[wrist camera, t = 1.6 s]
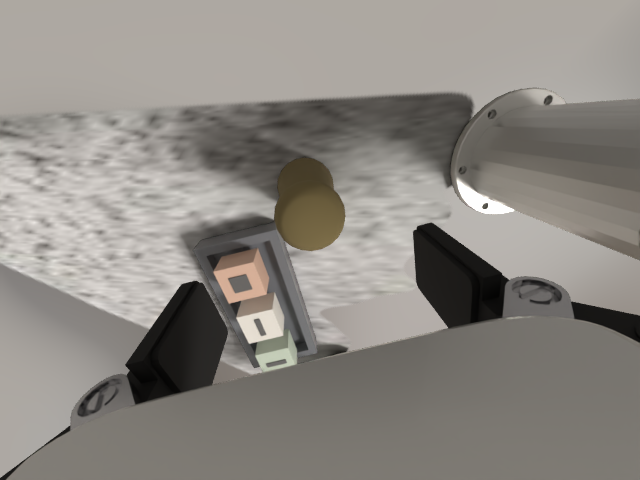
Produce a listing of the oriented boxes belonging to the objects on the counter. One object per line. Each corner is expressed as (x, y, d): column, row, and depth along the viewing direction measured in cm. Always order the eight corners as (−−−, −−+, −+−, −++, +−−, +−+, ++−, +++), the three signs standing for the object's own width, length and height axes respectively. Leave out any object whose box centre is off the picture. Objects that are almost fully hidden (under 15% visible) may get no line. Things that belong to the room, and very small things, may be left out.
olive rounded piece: (265, 181, 26) (246, 218, 16) (310, 144, 25) (320, 159, 15) (301, 223, 28) (303, 278, 18) (344, 191, 27) (371, 231, 17)
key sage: (288, 328, 32) (288, 348, 29) (296, 349, 33) (297, 370, 31) (258, 335, 32) (254, 356, 29) (268, 356, 33) (265, 378, 31)
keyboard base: (277, 221, 28) (276, 229, 26) (316, 338, 36) (317, 353, 34) (201, 240, 28) (192, 250, 26) (256, 352, 36) (254, 368, 34)
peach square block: (257, 247, 26) (253, 262, 24) (269, 278, 28) (266, 295, 25) (221, 256, 27) (212, 272, 24) (235, 286, 28) (228, 304, 25)
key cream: (274, 291, 29) (272, 309, 26) (284, 317, 31) (283, 336, 28) (241, 299, 29) (235, 318, 26) (253, 324, 31) (248, 344, 28)
